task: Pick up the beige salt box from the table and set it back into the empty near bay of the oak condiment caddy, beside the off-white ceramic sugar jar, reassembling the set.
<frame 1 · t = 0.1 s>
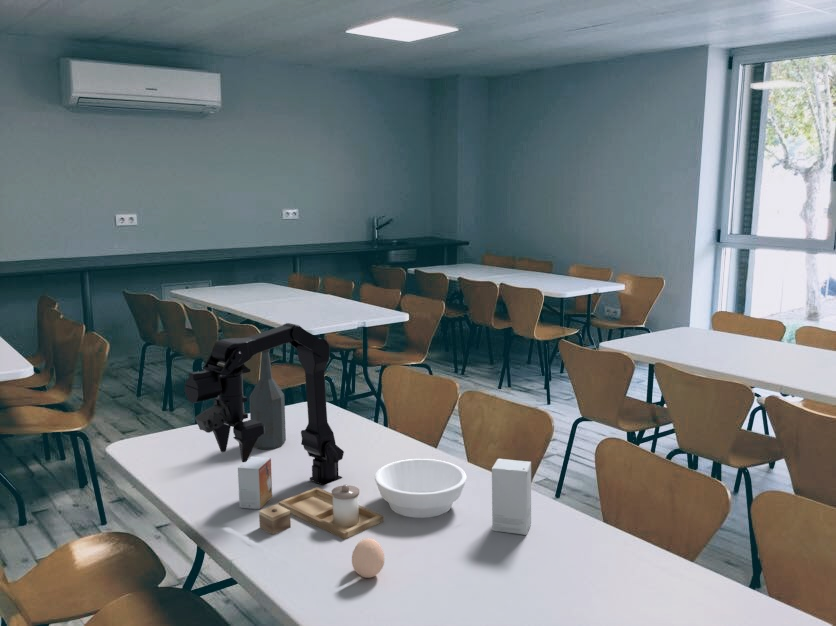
hand: (233, 456, 175), 15 cm above the table, fingers open, 9 cm apart
bottle: (268, 444, 225), on the table
caddy: (329, 517, 176), on the table
sugar jar: (346, 521, 172), point 1 cm above the table, touching caddy
beige salt box: (275, 531, 169), on the table
bowl: (420, 507, 182), on the table
small box: (256, 503, 184), on the table
skincare box: (511, 528, 171), on the table
egg: (368, 576, 150), on the table
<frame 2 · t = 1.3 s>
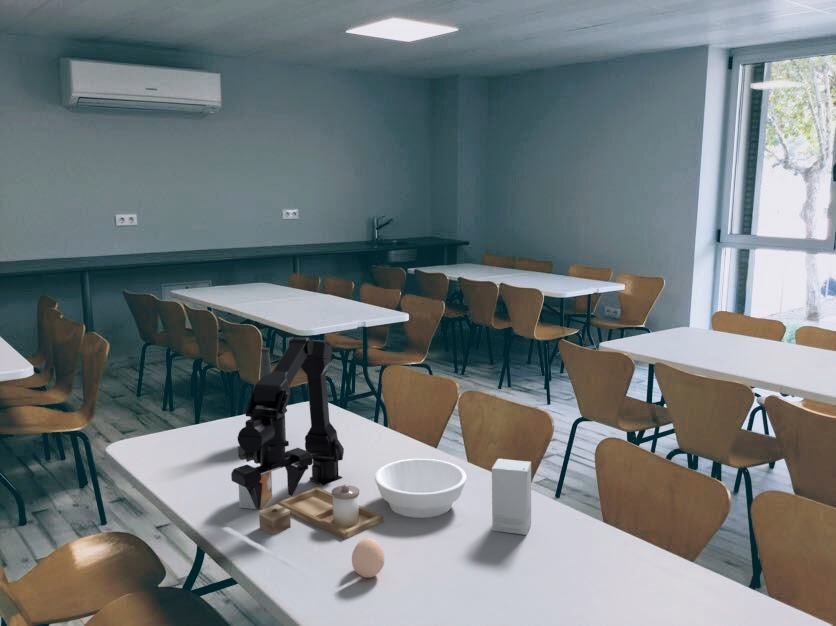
hand: (274, 502, 168), 7 cm above the table, fingers open, 9 cm apart
nothing on the table moved.
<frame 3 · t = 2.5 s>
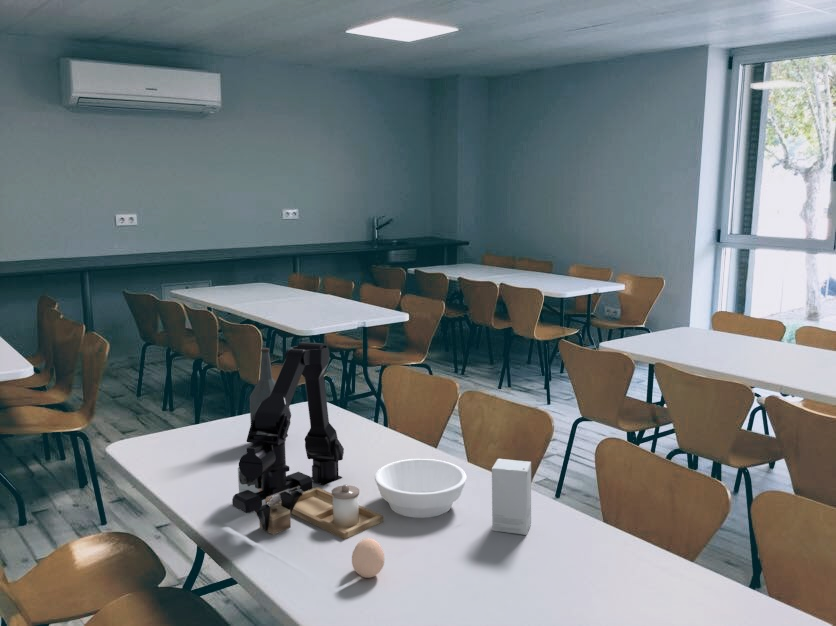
hand: (275, 526, 169), 1 cm above the table, fingers closed on beige salt box, 5 cm apart
beige salt box: (275, 530, 169), on the table, touching gripper
everything else where it was.
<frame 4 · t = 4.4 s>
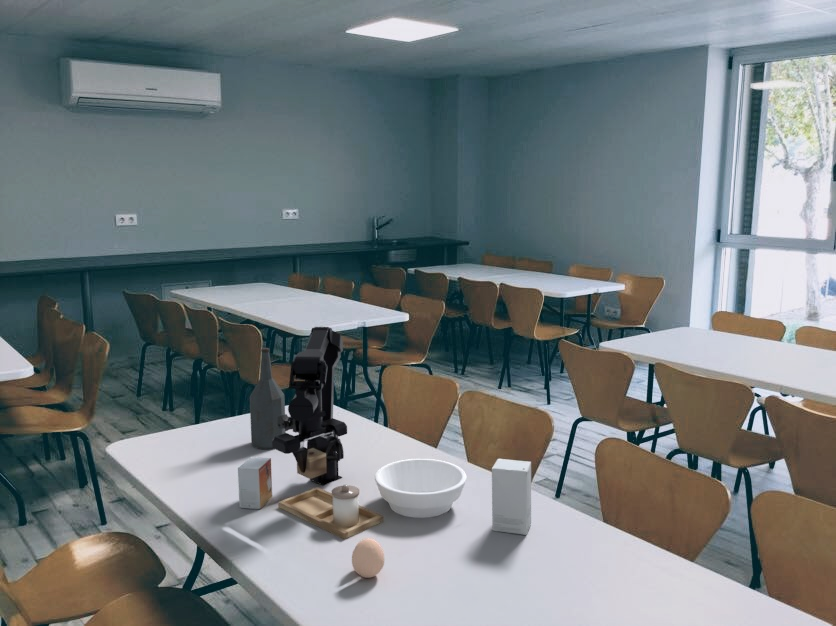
hand: (311, 468, 178), 11 cm above the table, fingers closed on beige salt box, 5 cm apart
beige salt box: (311, 472, 178), point 10 cm above the table, touching gripper
everything else where it was.
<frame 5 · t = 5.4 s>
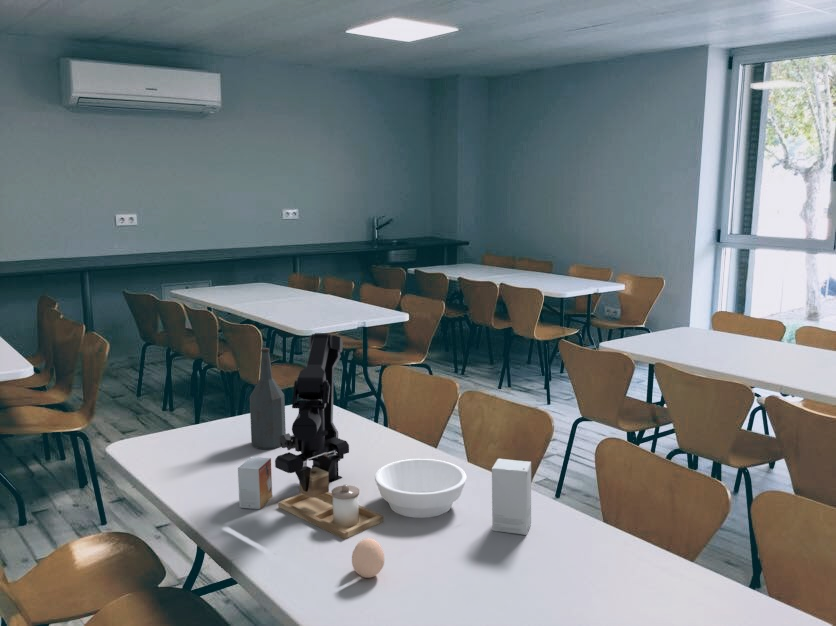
hand: (314, 487, 179), 6 cm above the table, fingers closed on beige salt box, 5 cm apart
beige salt box: (314, 491, 179), point 5 cm above the table, touching gripper
everything else where it was.
when the fingers open (3 cm above the table, at t = 6.3 s): beige salt box drops 1 cm, resting on caddy.
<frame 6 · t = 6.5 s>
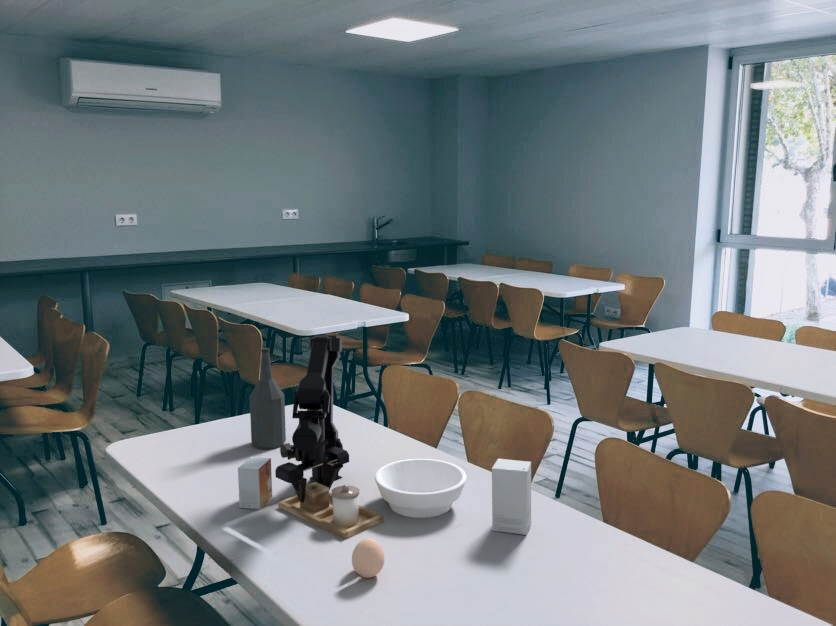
hand: (314, 497, 179), 3 cm above the table, fingers open, 7 cm apart
beige salt box: (314, 506, 180), point 1 cm above the table, touching caddy
everything else where it was.
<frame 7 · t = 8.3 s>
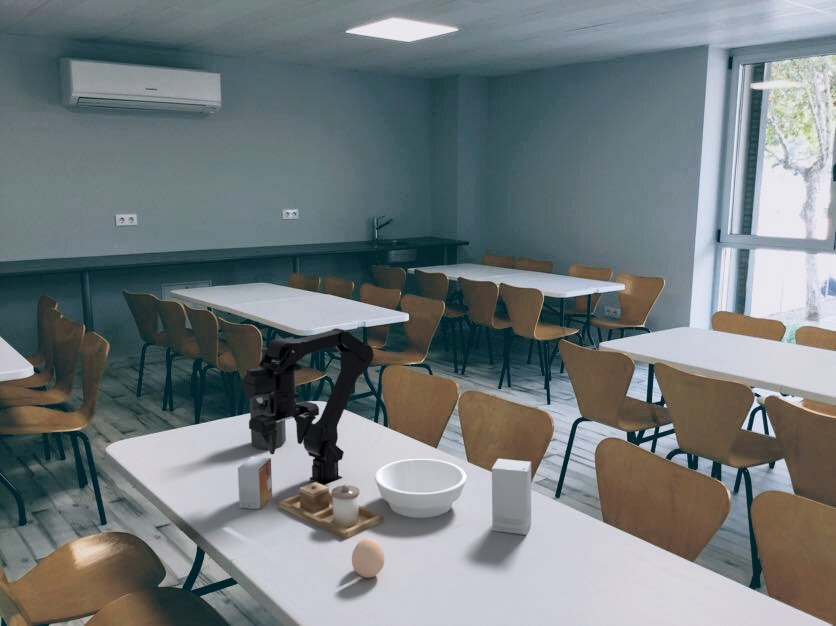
hand: (286, 448, 187), 12 cm above the table, fingers open, 9 cm apart
nothing on the table moved.
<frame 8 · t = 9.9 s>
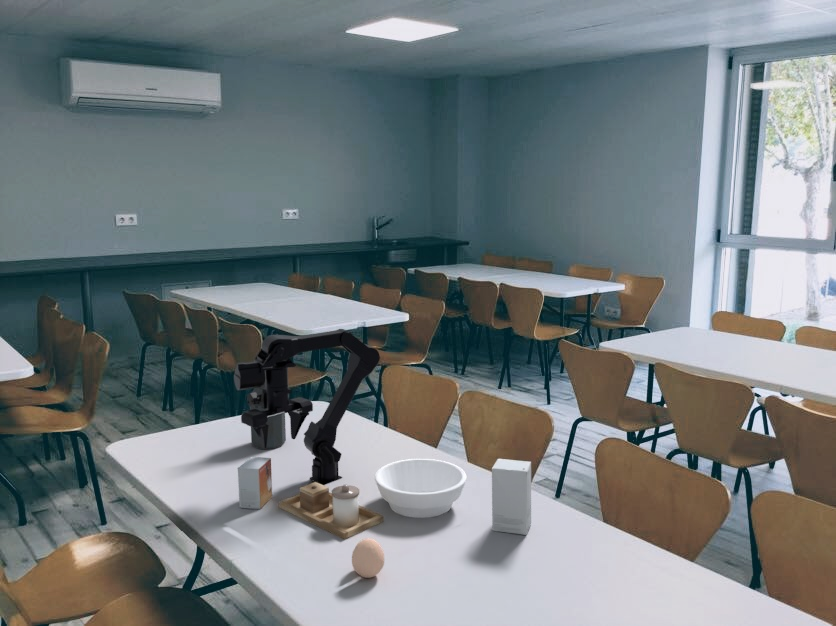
hand: (279, 443, 190), 12 cm above the table, fingers open, 9 cm apart
nothing on the table moved.
at the end: beige salt box inside the target area on the caddy (0.0 cm from its centre), point 0.8 cm above the caddy's base; beige salt box tilted 0°; the gripper is holding nothing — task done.
